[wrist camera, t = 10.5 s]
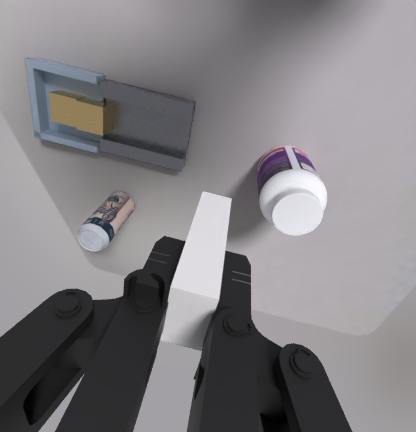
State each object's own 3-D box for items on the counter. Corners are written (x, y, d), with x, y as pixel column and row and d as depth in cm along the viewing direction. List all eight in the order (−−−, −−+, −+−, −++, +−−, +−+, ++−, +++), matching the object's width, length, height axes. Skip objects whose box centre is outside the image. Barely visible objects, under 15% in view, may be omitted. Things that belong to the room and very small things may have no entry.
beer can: (128, 187, 48) (95, 224, 38) (139, 210, 50) (111, 251, 40) (105, 193, 49) (68, 230, 39) (117, 215, 51) (85, 256, 41)
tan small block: (61, 89, 41) (48, 92, 38) (87, 96, 41) (76, 99, 38) (63, 116, 43) (51, 121, 40) (87, 123, 43) (77, 127, 40)
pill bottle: (255, 191, 45) (257, 243, 33) (258, 143, 41) (262, 182, 29) (305, 192, 44) (327, 246, 32) (314, 143, 40) (342, 183, 28)
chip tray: (37, 57, 39) (24, 58, 37) (104, 74, 39) (96, 76, 37) (45, 133, 45) (35, 137, 43) (104, 148, 45) (96, 153, 43)
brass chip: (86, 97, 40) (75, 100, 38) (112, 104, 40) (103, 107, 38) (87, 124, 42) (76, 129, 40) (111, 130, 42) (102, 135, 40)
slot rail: (108, 79, 39) (100, 81, 37) (195, 101, 39) (192, 104, 37) (107, 146, 45) (99, 150, 42) (184, 165, 44) (180, 171, 42)
